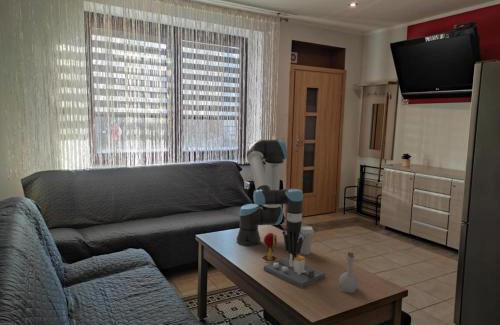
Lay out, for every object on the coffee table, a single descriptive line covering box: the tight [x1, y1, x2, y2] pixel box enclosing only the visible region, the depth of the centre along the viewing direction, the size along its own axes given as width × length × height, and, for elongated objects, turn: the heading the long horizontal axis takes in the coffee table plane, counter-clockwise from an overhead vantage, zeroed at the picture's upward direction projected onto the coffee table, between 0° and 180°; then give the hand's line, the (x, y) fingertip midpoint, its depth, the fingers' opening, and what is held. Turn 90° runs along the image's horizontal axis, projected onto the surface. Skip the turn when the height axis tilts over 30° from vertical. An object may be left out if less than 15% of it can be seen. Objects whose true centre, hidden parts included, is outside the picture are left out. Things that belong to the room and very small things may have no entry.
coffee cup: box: [298, 225, 315, 256], centre depth 202 cm, size 10×10×15 cm
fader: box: [294, 255, 306, 273], centre depth 172 cm, size 3×5×7 cm
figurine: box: [260, 232, 279, 264], centre depth 191 cm, size 9×10×15 cm
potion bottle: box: [338, 251, 360, 294], centre depth 159 cm, size 9×9×18 cm
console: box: [263, 257, 326, 289], centre depth 175 cm, size 25×18×5 cm
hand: (292, 265), depth 175 cm, fingers closed
